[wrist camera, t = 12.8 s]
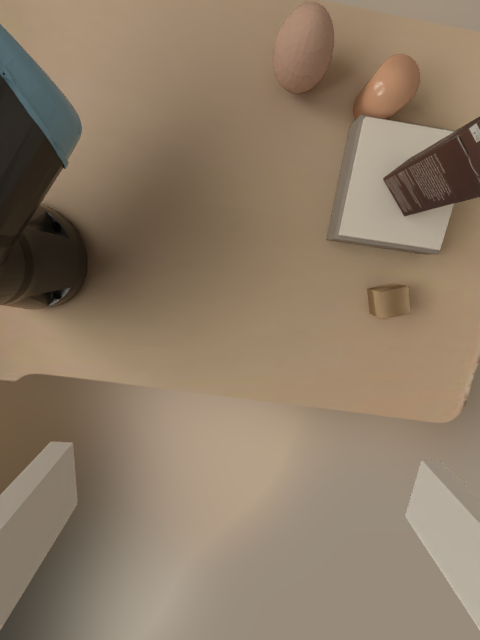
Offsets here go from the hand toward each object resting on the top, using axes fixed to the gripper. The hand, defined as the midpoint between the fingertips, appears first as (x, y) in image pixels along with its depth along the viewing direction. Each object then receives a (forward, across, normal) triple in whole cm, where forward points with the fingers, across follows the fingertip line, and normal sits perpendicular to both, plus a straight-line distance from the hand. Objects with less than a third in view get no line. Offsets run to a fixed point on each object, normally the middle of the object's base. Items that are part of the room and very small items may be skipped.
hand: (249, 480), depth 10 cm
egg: (+34, +5, +31) cm, 46 cm away
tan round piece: (+33, +16, +29) cm, 47 cm away
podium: (+33, +21, +18) cm, 43 cm away
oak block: (+33, +23, +3) cm, 40 cm away
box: (+29, +21, +18) cm, 40 cm away
